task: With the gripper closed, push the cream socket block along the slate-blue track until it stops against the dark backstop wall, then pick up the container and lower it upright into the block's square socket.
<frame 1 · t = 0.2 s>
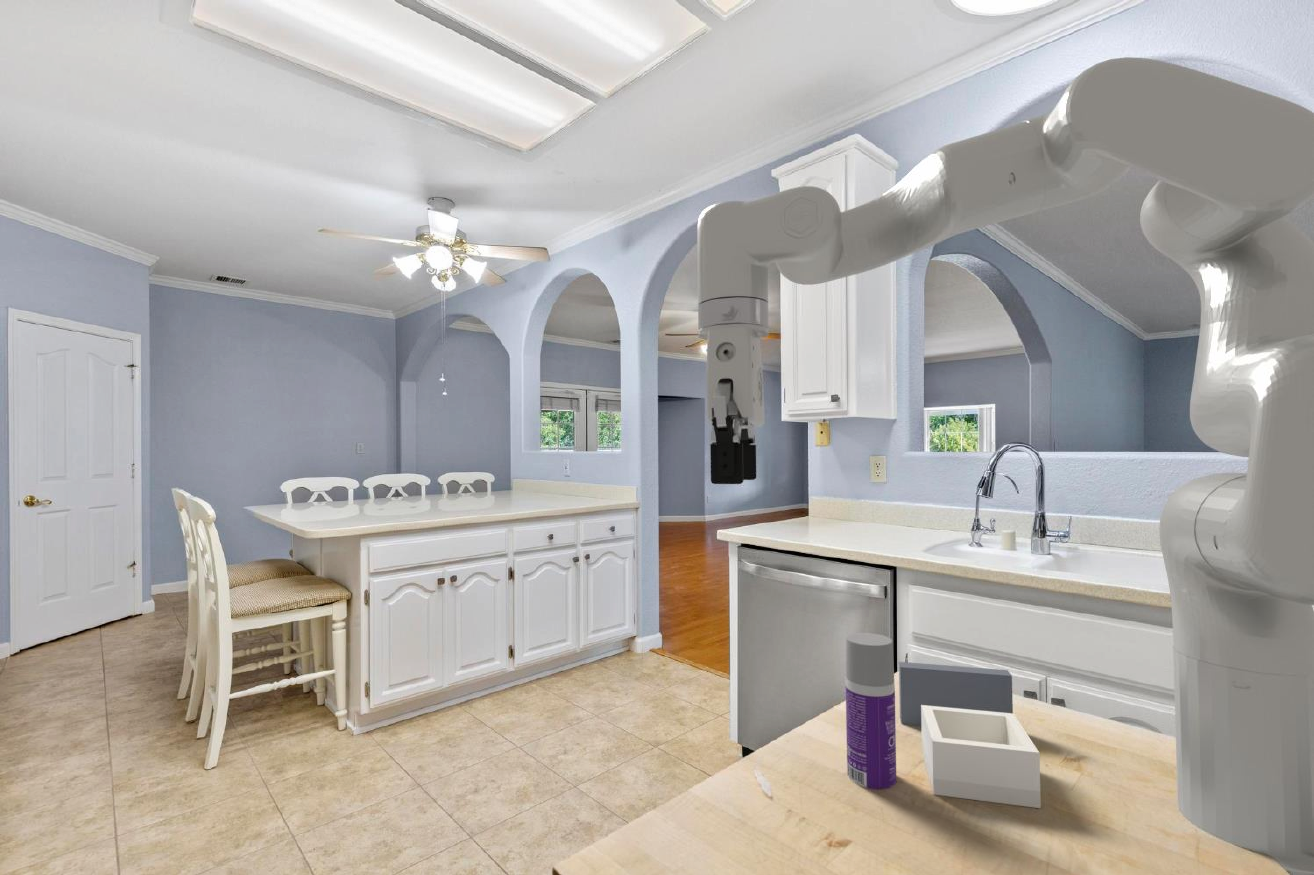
hand: (735, 481, 68), 31 cm above the countertop, fingers open, 9 cm apart
socket block: (975, 751, 63), point 4 cm above the countertop, slide at 0.0 cm
container: (871, 791, 64), on the countertop
track: (968, 771, 67), on the countertop
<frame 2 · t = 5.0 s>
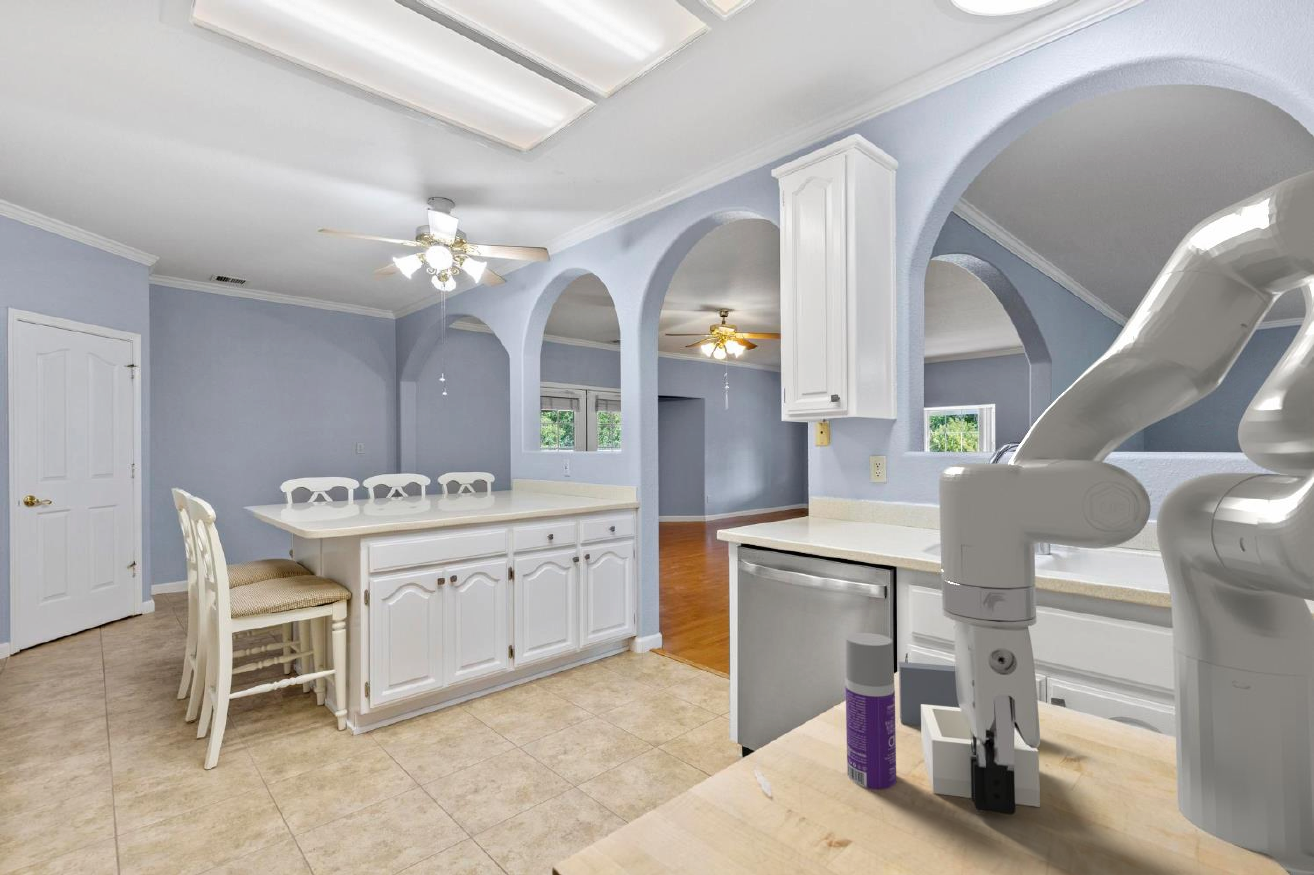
hand: (992, 807, 57), 2 cm above the countertop, fingers closed
socket block: (975, 750, 63), point 4 cm above the countertop, slide at 0.3 cm, touching gripper
everything else where it was.
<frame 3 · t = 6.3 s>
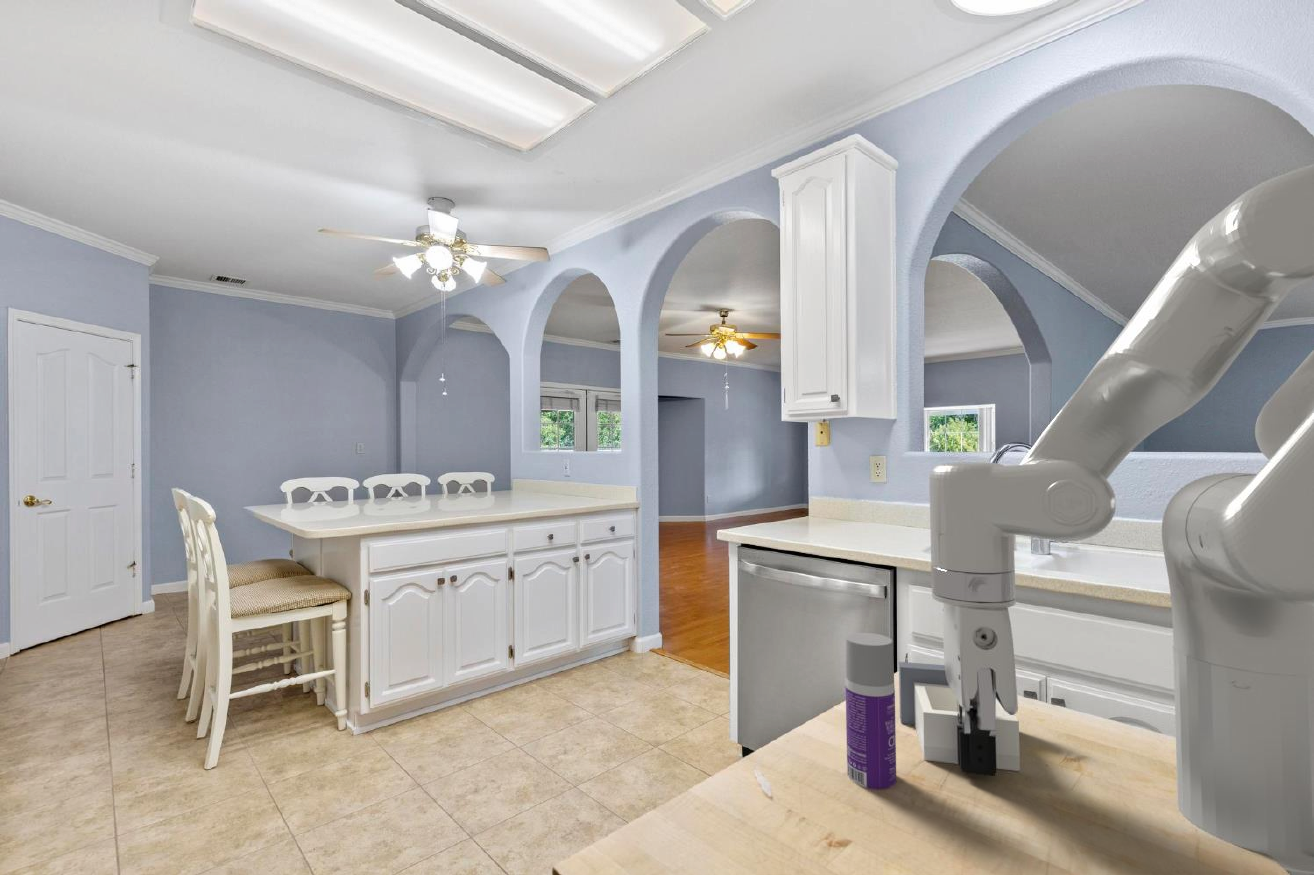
hand: (976, 770, 63), 2 cm above the countertop, fingers closed
socket block: (962, 723, 70), point 4 cm above the countertop, slide at 7.0 cm, touching gripper, track
everything else where it was.
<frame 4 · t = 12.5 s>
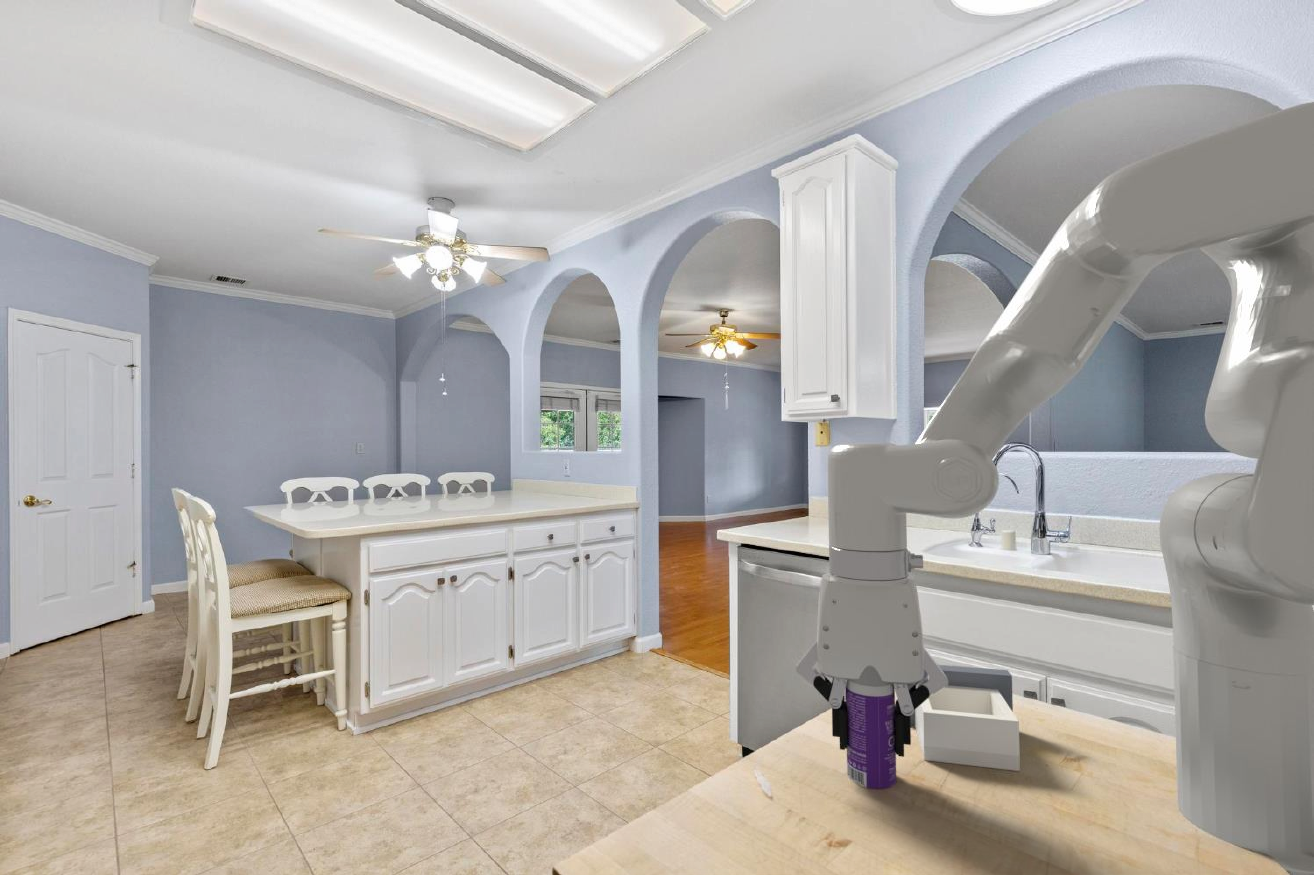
hand: (870, 745, 64), 4 cm above the countertop, fingers closed on container, 4 cm apart
socket block: (962, 723, 70), point 4 cm above the countertop, slide at 7.0 cm, touching track
container: (871, 791, 64), on the countertop, touching gripper
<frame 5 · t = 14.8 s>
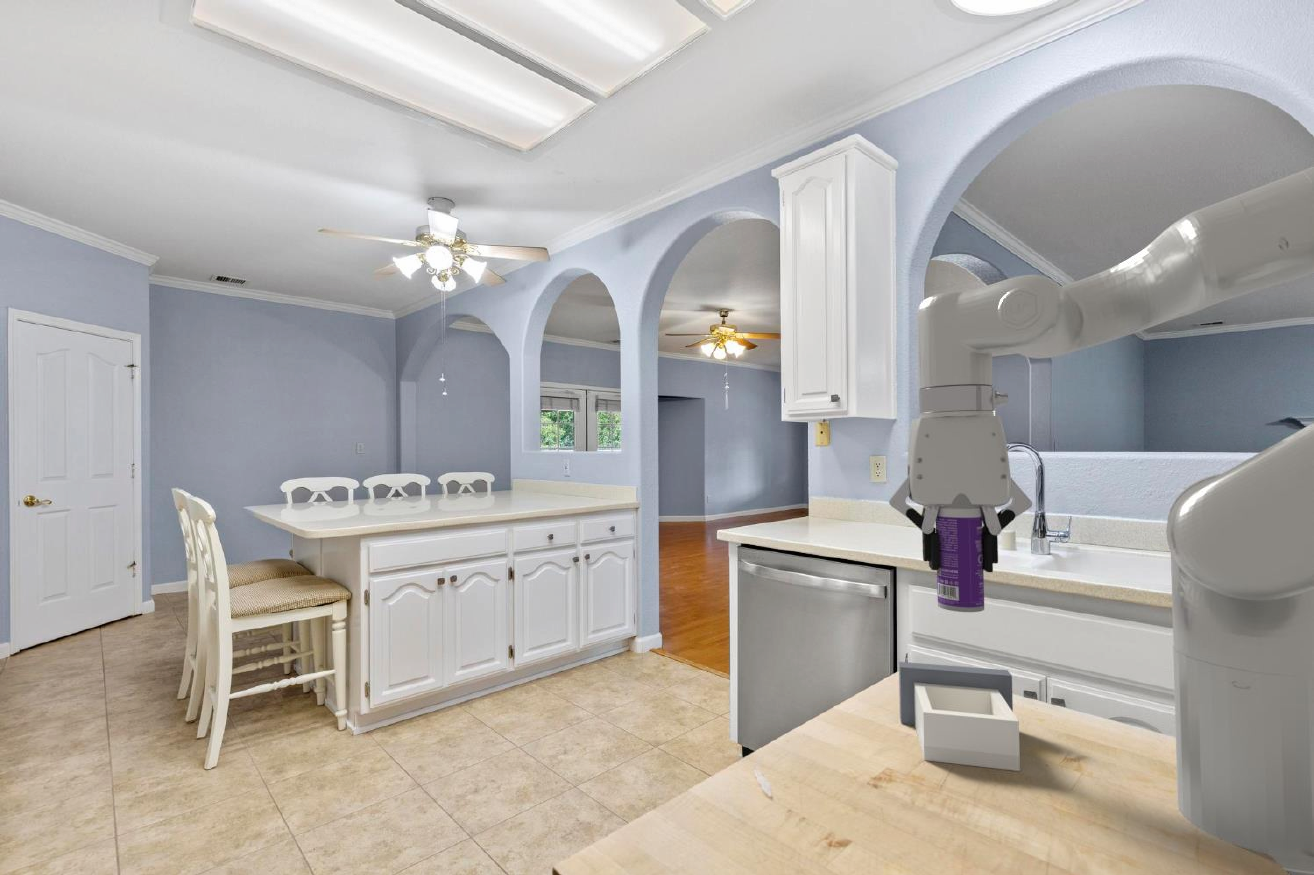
hand: (959, 567, 70), 21 cm above the countertop, fingers closed on container, 4 cm apart
container: (960, 609, 70), point 16 cm above the countertop, touching gripper
everything else where it was.
when the fingers open (9 cm above the countertop, at t = 17.3 s): container drops 1 cm, resting on socket block.
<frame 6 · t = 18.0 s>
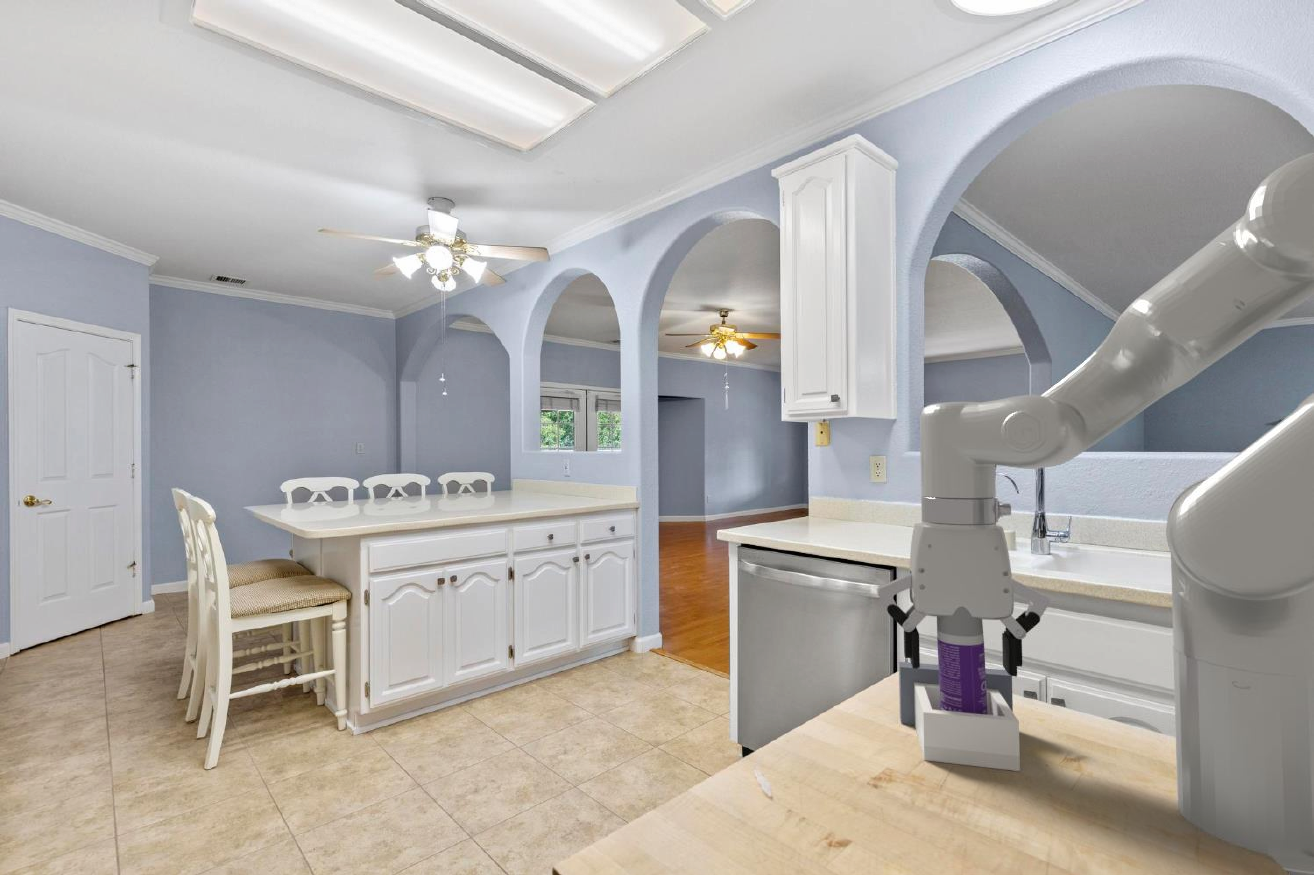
hand: (961, 668, 70), 10 cm above the countertop, fingers open, 9 cm apart
socket block: (962, 723, 70), point 4 cm above the countertop, slide at 7.0 cm, touching container
container: (964, 734, 70), point 3 cm above the countertop, touching socket block
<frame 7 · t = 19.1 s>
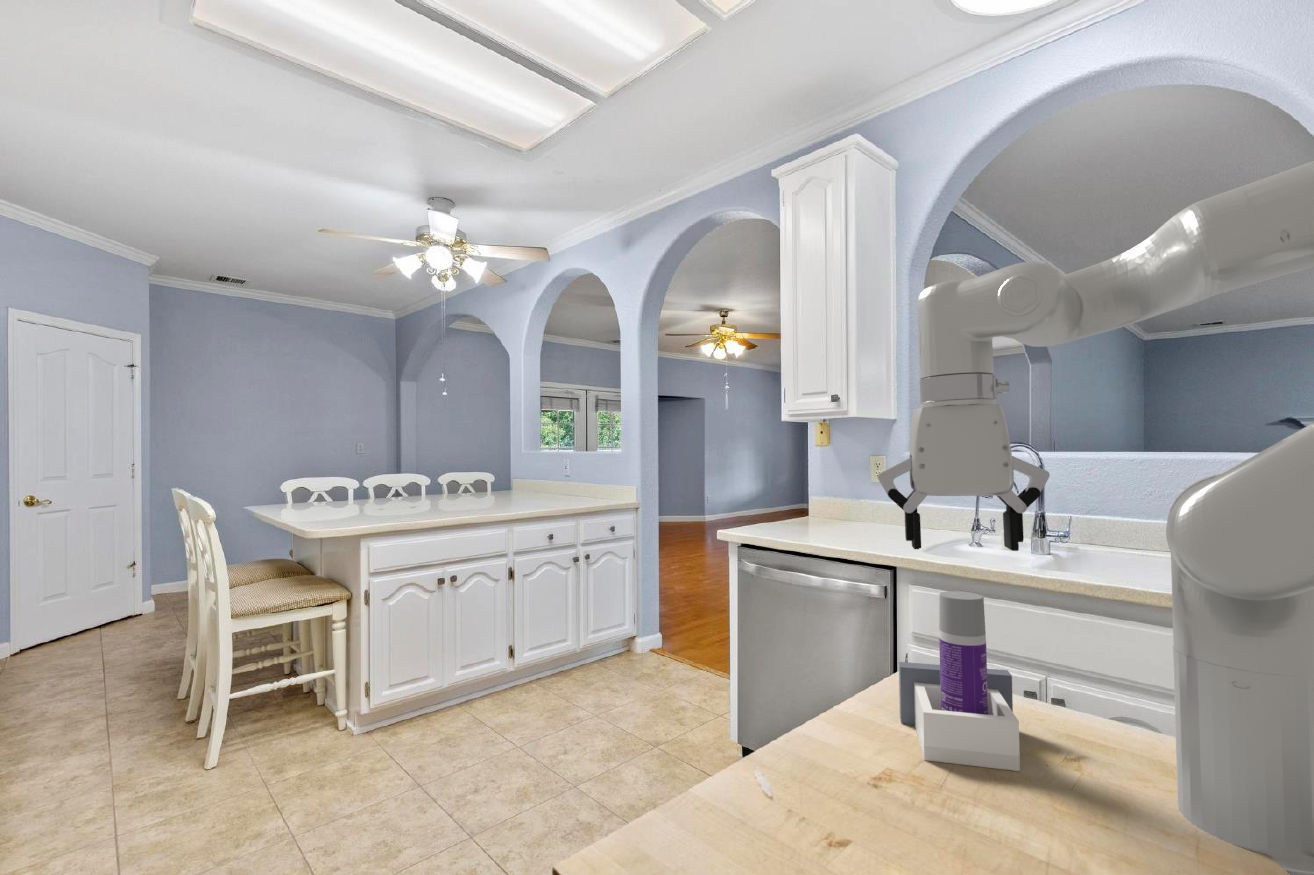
hand: (963, 548, 70), 23 cm above the countertop, fingers open, 9 cm apart
nothing on the countertop moved.
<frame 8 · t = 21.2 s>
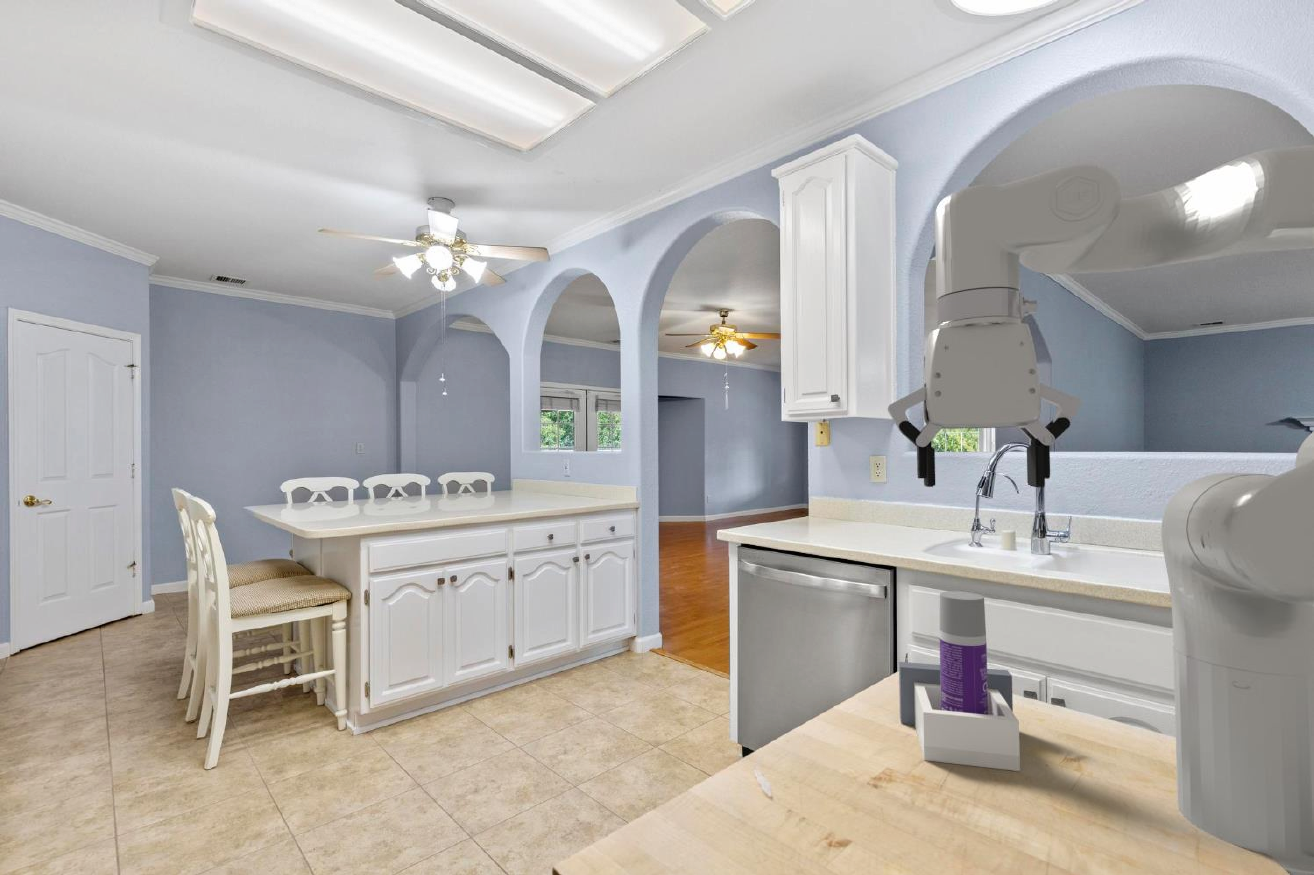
hand: (981, 486, 63), 30 cm above the countertop, fingers open, 9 cm apart
nothing on the countertop moved.
at the end: socket block slide at 7.0 cm; container 0.2 cm off-centre on the socket block, point 1.3 cm above the socket block's base; container tilted 1° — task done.
